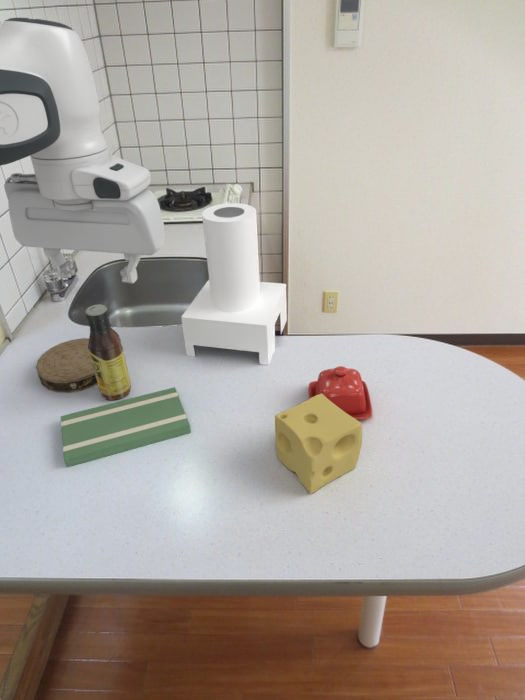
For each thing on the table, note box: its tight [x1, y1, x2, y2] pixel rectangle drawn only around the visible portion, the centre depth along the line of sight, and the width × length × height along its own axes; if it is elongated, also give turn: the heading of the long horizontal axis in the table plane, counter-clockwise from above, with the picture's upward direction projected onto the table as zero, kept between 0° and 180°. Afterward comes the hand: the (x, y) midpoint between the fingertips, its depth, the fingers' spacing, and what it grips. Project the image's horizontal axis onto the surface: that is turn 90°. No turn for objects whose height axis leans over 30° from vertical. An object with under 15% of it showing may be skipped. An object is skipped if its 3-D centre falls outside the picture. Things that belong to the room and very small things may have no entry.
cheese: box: [274, 394, 363, 495], centre depth 86 cm, size 10×11×10 cm
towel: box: [60, 386, 192, 468], centre depth 97 cm, size 22×12×2 cm, turn 111°
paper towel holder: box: [180, 202, 288, 366], centre depth 114 cm, size 19×19×30 cm
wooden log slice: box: [35, 337, 98, 393], centre depth 113 cm, size 16×16×3 cm
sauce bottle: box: [84, 303, 132, 401], centre depth 101 cm, size 7×6×20 cm
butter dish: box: [308, 365, 373, 420], centre depth 99 cm, size 12×12×8 cm
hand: (98, 278), depth 71 cm, fingers open, 8 cm apart
